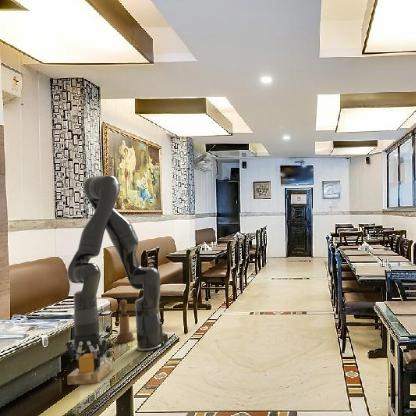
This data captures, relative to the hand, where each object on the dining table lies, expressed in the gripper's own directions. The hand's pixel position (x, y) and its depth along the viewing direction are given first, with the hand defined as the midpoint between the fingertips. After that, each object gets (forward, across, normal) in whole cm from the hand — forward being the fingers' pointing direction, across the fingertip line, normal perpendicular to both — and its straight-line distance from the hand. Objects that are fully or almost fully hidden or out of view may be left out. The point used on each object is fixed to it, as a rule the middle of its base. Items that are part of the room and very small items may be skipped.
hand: (89, 368), depth 149 cm
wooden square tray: (+3, 0, 0) cm, 3 cm away
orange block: (0, 0, 0) cm, 0 cm away
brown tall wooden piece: (+3, +3, -40) cm, 40 cm away
